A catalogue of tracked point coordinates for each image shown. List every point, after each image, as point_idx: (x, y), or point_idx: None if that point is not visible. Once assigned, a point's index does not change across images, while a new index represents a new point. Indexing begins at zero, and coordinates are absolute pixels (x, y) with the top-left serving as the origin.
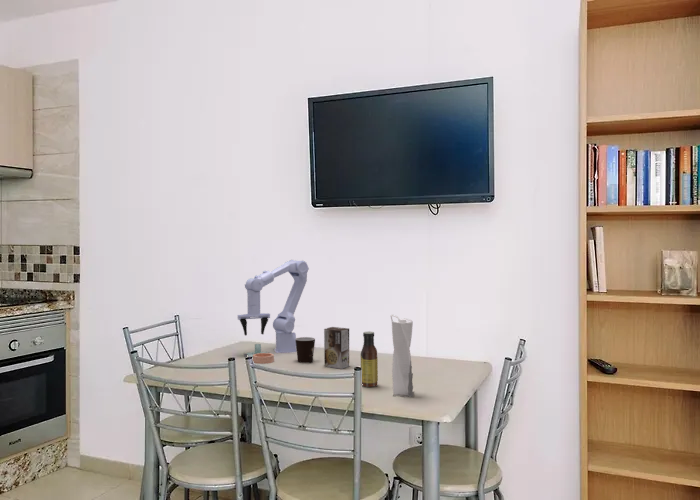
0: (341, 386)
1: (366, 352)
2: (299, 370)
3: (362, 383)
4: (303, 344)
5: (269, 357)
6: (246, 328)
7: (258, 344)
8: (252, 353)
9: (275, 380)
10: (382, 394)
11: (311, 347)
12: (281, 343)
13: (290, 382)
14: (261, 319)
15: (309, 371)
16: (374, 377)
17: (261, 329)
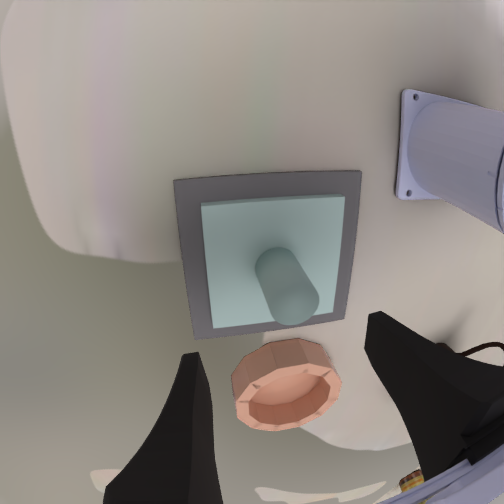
0: (372, 489)
1: None
2: (360, 444)
3: (400, 484)
4: None
5: (308, 418)
6: (213, 455)
7: (300, 303)
8: (241, 240)
9: (276, 495)
10: (395, 492)
11: None
12: (458, 207)
13: (302, 497)
14: (458, 434)
15: (377, 445)
16: None
17: (391, 349)
